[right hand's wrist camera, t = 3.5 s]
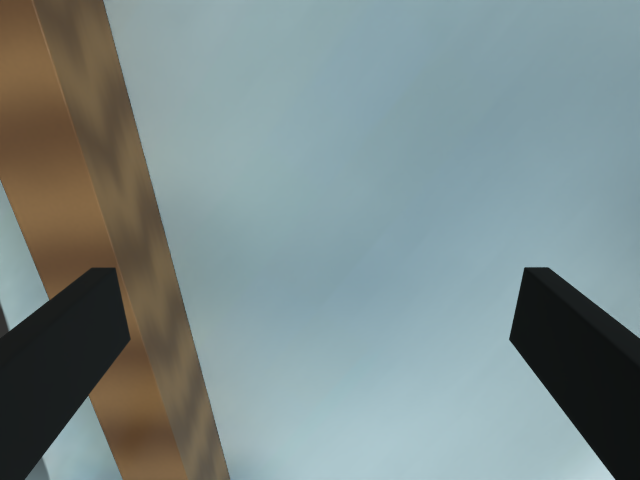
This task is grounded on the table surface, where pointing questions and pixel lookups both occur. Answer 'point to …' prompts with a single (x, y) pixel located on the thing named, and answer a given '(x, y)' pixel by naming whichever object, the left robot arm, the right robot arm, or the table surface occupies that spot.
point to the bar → (102, 228)
